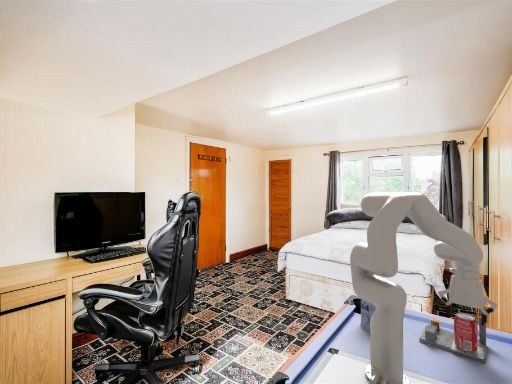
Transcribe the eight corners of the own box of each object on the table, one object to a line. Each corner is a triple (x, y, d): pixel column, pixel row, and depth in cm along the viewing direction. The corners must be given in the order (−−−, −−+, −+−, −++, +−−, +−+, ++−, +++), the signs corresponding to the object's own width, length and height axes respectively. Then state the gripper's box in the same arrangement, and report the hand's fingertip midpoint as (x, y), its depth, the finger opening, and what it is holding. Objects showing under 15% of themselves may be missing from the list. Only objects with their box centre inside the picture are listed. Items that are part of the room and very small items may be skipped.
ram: (434, 342, 103) (434, 333, 103) (425, 339, 105) (425, 330, 105) (440, 328, 113) (440, 320, 113) (431, 325, 115) (431, 318, 115)
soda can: (469, 343, 102) (468, 312, 102) (483, 354, 95) (482, 321, 95) (449, 342, 102) (449, 311, 103) (462, 353, 95) (461, 320, 96)
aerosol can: (356, 324, 120) (356, 280, 120) (369, 321, 123) (368, 278, 123) (370, 332, 113) (370, 286, 113) (383, 328, 116) (383, 283, 116)
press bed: (484, 364, 92) (484, 332, 92) (418, 342, 105) (418, 314, 105) (486, 345, 103) (486, 317, 104) (426, 327, 117) (426, 303, 117)
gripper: (437, 270, 102) (436, 315, 101) (497, 281, 90) (497, 332, 90) (440, 267, 107) (439, 309, 107) (497, 277, 96) (497, 324, 95)
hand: (465, 319), depth 98 cm, fingers open, 9 cm apart
